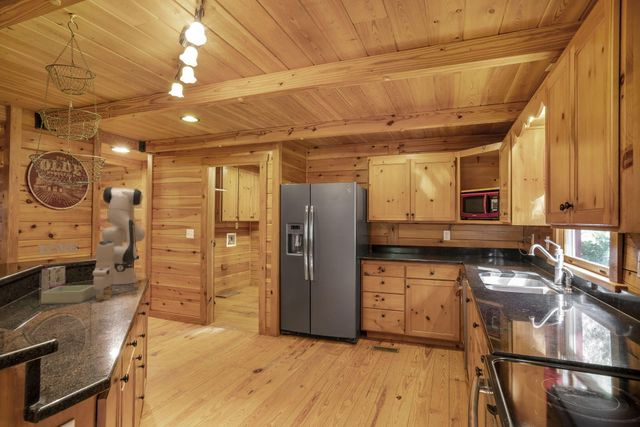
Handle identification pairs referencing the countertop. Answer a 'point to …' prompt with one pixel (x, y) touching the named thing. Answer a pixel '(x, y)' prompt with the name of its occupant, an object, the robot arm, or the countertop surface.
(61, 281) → the candy bar box
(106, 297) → the ash block
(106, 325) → the countertop surface
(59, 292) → the box
